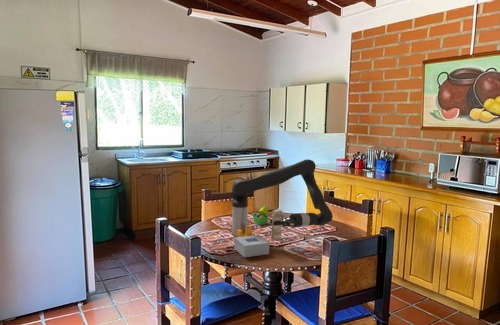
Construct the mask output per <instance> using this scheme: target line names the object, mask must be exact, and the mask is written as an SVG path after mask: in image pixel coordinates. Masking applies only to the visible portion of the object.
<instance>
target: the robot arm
mask: <svg viewBox="0 0 500 325" xmlns="http://www.w3.org/2000/svg"><path fill="white" fill-rule="evenodd" d="M316 167H317V166H316V163H315V161H314V160H312V159H308V158H307V159H303V160H300V161H298V162H296V163H293V164H290V165H288V166H283V167H280V168H275V169H272V170H269V171H266V172H264V173H261V174H260V175H259V176H256V177H253V178H250V179H246V180H244V179H243V178H238V179H236V180H234V181H233V183H232V185H231V186H232V189H231V190H232V191H231V192H232V194H231V195H232V196H231V197H232V198H231V199H232V200H231V202H232V210H231V211H232V212H231V214H232V215H231V216H232V217H231V222H232V223H231V234H232V235H233V236H235V237H237V230H242V232H243V234H244V233H245V232H246V229H247V226H248V215H249V214H248V210H249V209H248V208H249V207H248V206H249V205H248V204H249V200H248V195H249V194H251V193H253V192H256V191H259V190H263V189H268V188H272V187H275V186H278V185H282V184H284V183H285V182H287V181H290V180H291V179H292V178H294V177H298V176H301V178H302V179H303V181H304V183H305V185H306V188H307V190H308V194H309V197H310V199H311V202H312V204H313V207H314V209H316V210H318V211H319V213H317V214H316V213H315V212H297V213H291V214H290V215H289V216H283V215H282V220H281V221H273V225H281V226H282V227H292V228H301V227H302V228H303V227H307V226H317V227H318V226H320V227H321V226H325V225H327V224H328V223H330V222H332V220H333V212H332V211H331V209H330V207H329V206H328V204H327V203H326V201H325V198H324V195H323V193H322V191H321V189H320V187H319V185H318V184H317V182H316V179H315V178H316V177H315V172H316ZM269 224H271V225H272V218H270V220H269Z"/></svg>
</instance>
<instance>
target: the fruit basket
mask: <svg viewBox="0 0 500 325" xmlns="http://www.w3.org/2000/svg"><path fill="white" fill-rule="evenodd" d="M267 214H268V207H267V206H266V205H263V206H262V207H261V208H260V209H259V210H258V212H257V213H252V219H253V222H254V223H256V224H257V225H260V226H261V225H262V226H263V225H267V222H268V220H269V216H268V215H267Z"/></svg>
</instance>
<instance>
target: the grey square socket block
mask: <svg viewBox="0 0 500 325" xmlns="http://www.w3.org/2000/svg"><path fill="white" fill-rule="evenodd" d="M233 248H235V251H236V252H238V254H240V255H241V256H242V257H243V258H249V257H251V258H252V257H256V256H257V257H258V256H263V255H269V254H270V242H269V241H268V240H266V239H265V238H264V237H262V236H261V235H259V234H254V235H253V234H252V235H251V236H243V237H237V236H235V237H234V241H233Z"/></svg>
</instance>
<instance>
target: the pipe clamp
mask: <svg viewBox="0 0 500 325" xmlns="http://www.w3.org/2000/svg"><path fill="white" fill-rule="evenodd" d="M251 235H253V226H252V225H247V229H246V232H245V233H244V234H243V232H242V230H237V236H236V237H243V236H251Z"/></svg>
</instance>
